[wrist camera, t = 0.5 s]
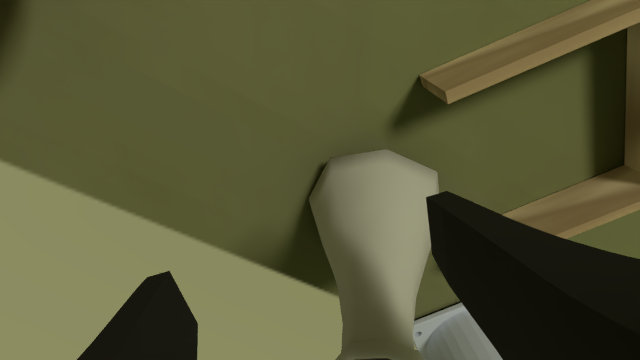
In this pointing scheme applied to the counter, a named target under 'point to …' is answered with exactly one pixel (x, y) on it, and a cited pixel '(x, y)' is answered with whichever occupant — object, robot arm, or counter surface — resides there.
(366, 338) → the flask
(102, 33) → the counter surface
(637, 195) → the oak frame
